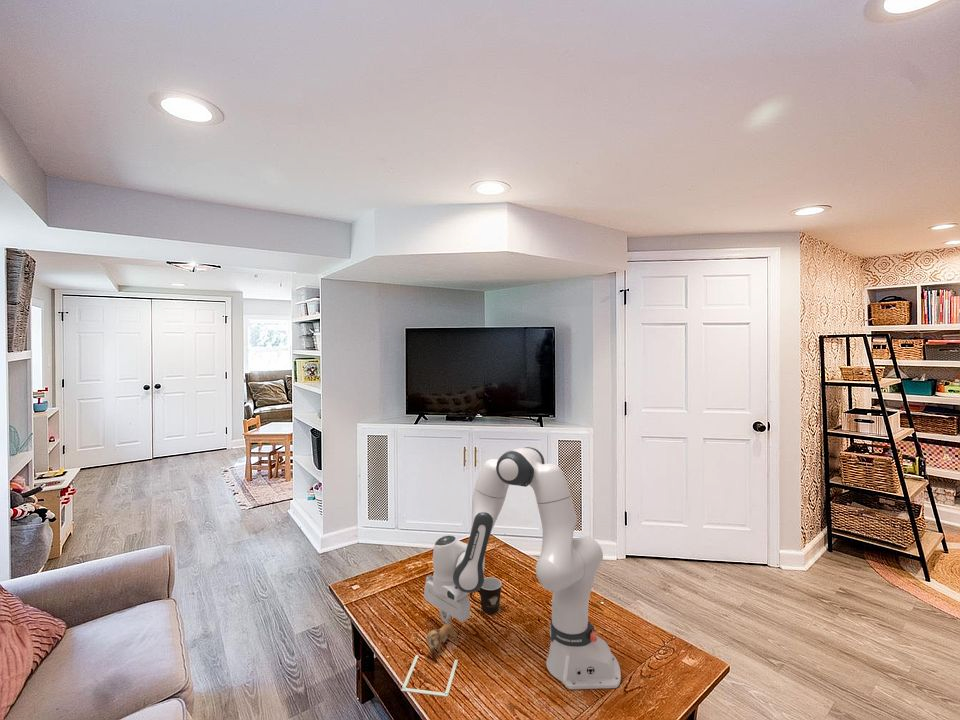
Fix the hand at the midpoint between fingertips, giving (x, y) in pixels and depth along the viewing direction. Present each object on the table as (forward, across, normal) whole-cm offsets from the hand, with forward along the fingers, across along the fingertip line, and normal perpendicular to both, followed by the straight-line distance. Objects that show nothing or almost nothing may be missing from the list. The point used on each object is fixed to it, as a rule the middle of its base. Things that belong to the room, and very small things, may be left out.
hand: (446, 621), depth 157 cm
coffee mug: (+4, +2, +19) cm, 20 cm away
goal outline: (+4, +11, -17) cm, 20 cm away
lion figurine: (+4, +5, -7) cm, 9 cm away
